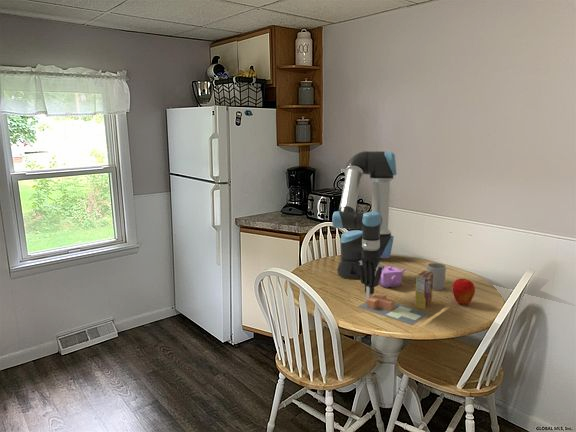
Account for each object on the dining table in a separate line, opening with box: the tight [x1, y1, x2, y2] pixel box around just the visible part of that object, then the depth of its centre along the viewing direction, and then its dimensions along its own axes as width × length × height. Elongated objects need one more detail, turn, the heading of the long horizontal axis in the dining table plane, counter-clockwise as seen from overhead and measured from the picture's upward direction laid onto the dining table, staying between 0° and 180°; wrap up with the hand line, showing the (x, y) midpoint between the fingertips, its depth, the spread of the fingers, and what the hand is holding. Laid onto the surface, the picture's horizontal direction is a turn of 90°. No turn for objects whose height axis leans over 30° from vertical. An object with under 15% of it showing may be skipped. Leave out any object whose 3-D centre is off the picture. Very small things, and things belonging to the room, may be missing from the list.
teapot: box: [375, 265, 408, 289], centre depth 218 cm, size 18×13×10 cm
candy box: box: [415, 269, 434, 310], centre depth 193 cm, size 9×4×15 cm, turn 140°
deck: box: [357, 301, 430, 326], centre depth 189 cm, size 26×15×1 cm, turn 47°
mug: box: [426, 262, 447, 291], centre depth 218 cm, size 12×8×11 cm
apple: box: [452, 278, 476, 306], centre depth 197 cm, size 9×9×12 cm
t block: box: [366, 293, 396, 311], centre depth 192 cm, size 10×10×4 cm
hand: (369, 300), depth 197 cm, fingers closed
